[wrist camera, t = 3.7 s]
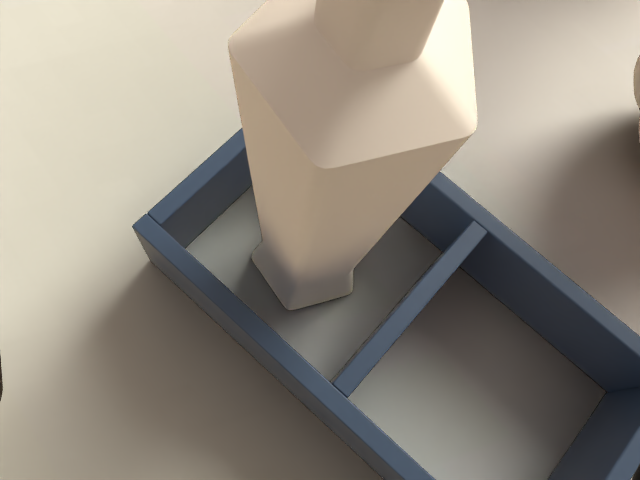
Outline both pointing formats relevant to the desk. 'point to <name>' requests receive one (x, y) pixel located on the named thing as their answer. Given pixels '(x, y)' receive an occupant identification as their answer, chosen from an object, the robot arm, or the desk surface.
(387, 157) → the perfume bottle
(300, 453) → the desk surface
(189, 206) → the box
